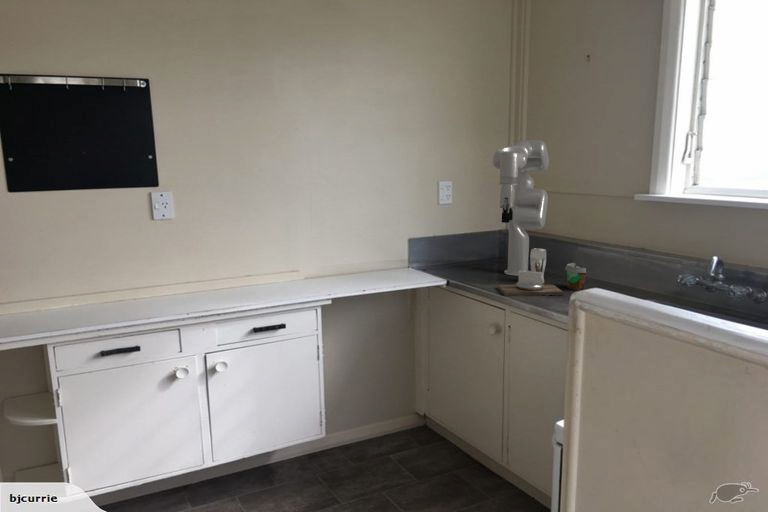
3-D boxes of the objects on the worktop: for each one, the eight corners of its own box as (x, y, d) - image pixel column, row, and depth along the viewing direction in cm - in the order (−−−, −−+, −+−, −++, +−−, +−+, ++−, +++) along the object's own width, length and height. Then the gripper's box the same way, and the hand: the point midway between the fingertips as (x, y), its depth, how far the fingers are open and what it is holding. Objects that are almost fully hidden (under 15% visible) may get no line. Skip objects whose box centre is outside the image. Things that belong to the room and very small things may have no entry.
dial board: (497, 287, 263) (497, 284, 262) (553, 287, 263) (553, 284, 263) (504, 295, 248) (504, 291, 248) (563, 295, 248) (563, 291, 248)
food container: (560, 285, 268) (561, 263, 266) (573, 285, 268) (574, 262, 267) (570, 291, 256) (572, 268, 254) (585, 291, 256) (586, 268, 255)
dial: (513, 288, 252) (514, 273, 251) (519, 283, 262) (519, 268, 261) (541, 291, 248) (541, 275, 247) (545, 286, 258) (545, 270, 257)
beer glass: (545, 284, 270) (547, 251, 267) (529, 283, 271) (530, 250, 269) (544, 281, 277) (546, 248, 274) (528, 280, 278) (530, 248, 275)
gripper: (502, 180, 269) (501, 219, 271) (496, 181, 253) (495, 223, 255) (519, 180, 266) (518, 219, 269) (514, 182, 250) (513, 223, 253)
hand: (507, 221), depth 262 cm, fingers open, 9 cm apart
